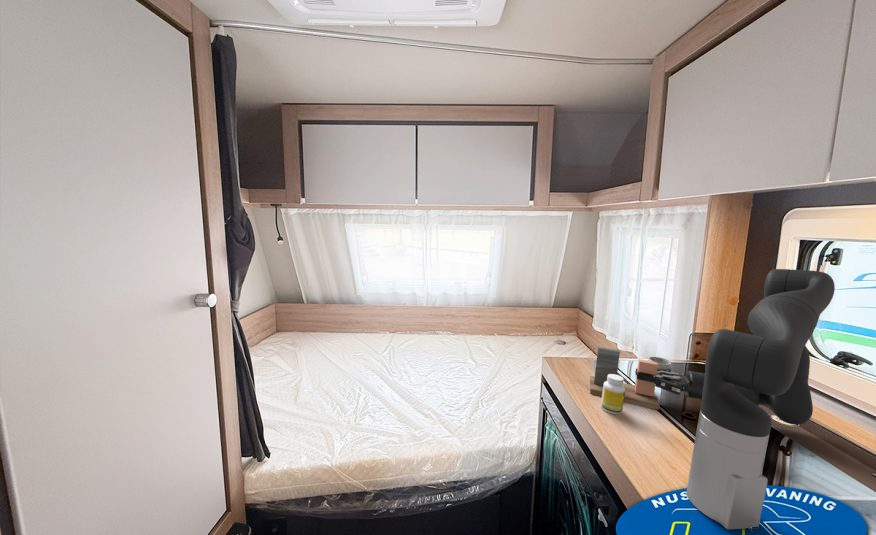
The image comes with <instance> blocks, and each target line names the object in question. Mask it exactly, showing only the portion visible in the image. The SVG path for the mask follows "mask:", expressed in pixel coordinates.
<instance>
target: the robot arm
mask: <svg viewBox="0 0 876 535" xmlns="http://www.w3.org/2000/svg"><path fill="white" fill-rule="evenodd" d="M763 288H764V289H763V298H762V299H760V300H759V301H758V303H756V305H755V306H754V307H753V308H752V309H751V310H750V312H749V314H748V317H747V326H748V328H749V331H750V332H751V334H749V333H744V332H741V331H736V330H731V329H725V328H721V329H718V330H716V331H714V333H713V334H712V335H711V337H710V339H709V342H708V346H707V350H706V358H705V368H704V369H705V370H704V373H703V372H698V371H692V370H687V371H686V372H685V374H684V375H683V374H680V373H677V372H674V371H672V368H671V369H668V368H657V374H656V375H653V376H652V374H648V373H643V372H637V368H635V371H634V373H635V376H636V375H637V379H639V380H644V381H648V382H652V383H653V384H655V388H659V389H662V390H664V391H666V392H669V393H672V394H675V395H678V396H679V395H681V392H683V394H684V395H685V397H687V398H689V399H693V400H696V401H697V400H698V401H701V402H700V409H699V415H698V419H697V420H698V422H697V427H696V432H695V438H694V444H693V450H692V455H691V462H690V468H689V473H688V482H687V486H686V496H687V498H688V500H689V501H690V502H691V504H692V505H693V506H694V507H695V508H696V509H697V510H698V511H700V512H701V513H703V515H705V516H707V517H708V518H710V519H711V520H714V521H715V522H717V523H719V524H720V525H721V526H723V527H724V528H725V529H726V530H744V529H745V530H747V529H746V528H748V529H752V528H751V527H757V526H758V527H759V526H760V520H761V515H762V511H763V507H764V501H765V496H766V491H767V486H768V478H767V477H766V476H764V474H762V473H763V468H764V464H765V459H766V458H765V457H766V453H767V447H768V443H769V438H770V434H771V428H772V423H773V422H772V419H771V416H770V415H769V413H768V412H767V411H766V410H764V409H763V408H762V407H760V406H764V407H768V408H769V409H770V410H771V412H772V413H773V414H774V415H775V416H776V417H777V418H778V419H780V421H782V422H783V423H786V424H788V425H792V426H793V425H795V426H799V425H803V424H806V423H807V422H808V421H810V420H811V418H812V415H813V411H814V408H813V407H814V406H813V400H812V394H811V390H810V386H809V377H810V376H809V375H810V366H811V365H810V364H811V356H810V354H809V350H808V348H807V347H806V345H807V343H808V341H809V339H811V337H812V335H813V334H814V331H815V329H816V327H817V324H818V322H819V319H820V315H821V314H822V313H823V312H824V311H825V310H826V309H827V308H828V307H829V305H830V304H831V302H832V300H833V298H834V294H835V289H836V288H835V282H834V279H833V277H832V276H831V275H830V274H828V273H826V272H823V271H817V270H809V269H808V270H807V269H806V270H805V269H787V268H774V269H771V270H770V271H768V273H767V275H766V278H765V280H764V286H763ZM671 371H672V372H671Z"/></svg>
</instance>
